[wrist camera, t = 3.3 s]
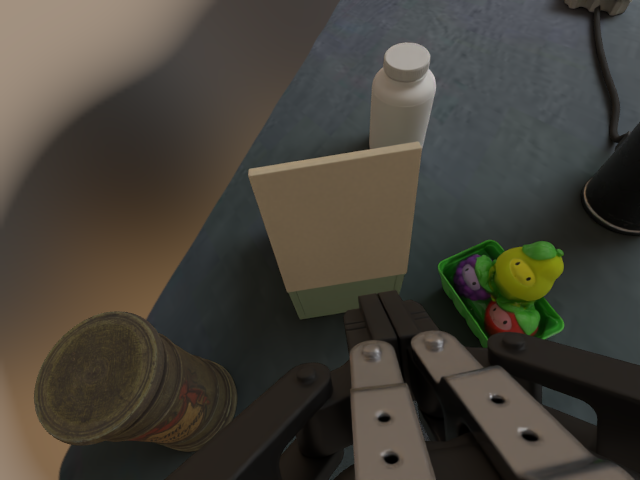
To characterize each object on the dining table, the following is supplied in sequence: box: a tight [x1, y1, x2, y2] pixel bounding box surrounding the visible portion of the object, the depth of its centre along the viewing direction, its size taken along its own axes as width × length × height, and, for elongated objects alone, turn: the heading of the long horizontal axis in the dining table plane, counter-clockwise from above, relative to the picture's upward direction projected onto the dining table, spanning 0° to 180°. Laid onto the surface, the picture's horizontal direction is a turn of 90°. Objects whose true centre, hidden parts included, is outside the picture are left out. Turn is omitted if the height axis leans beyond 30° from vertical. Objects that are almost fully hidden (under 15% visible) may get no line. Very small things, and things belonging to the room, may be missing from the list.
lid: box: [248, 141, 422, 292], centre depth 30 cm, size 14×12×1 cm
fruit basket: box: [438, 240, 564, 348], centre depth 37 cm, size 11×9×11 cm
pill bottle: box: [369, 43, 436, 149], centre depth 49 cm, size 8×8×15 cm
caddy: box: [288, 274, 404, 320], centre depth 43 cm, size 14×12×9 cm
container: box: [34, 312, 237, 452], centre depth 32 cm, size 9×9×18 cm
